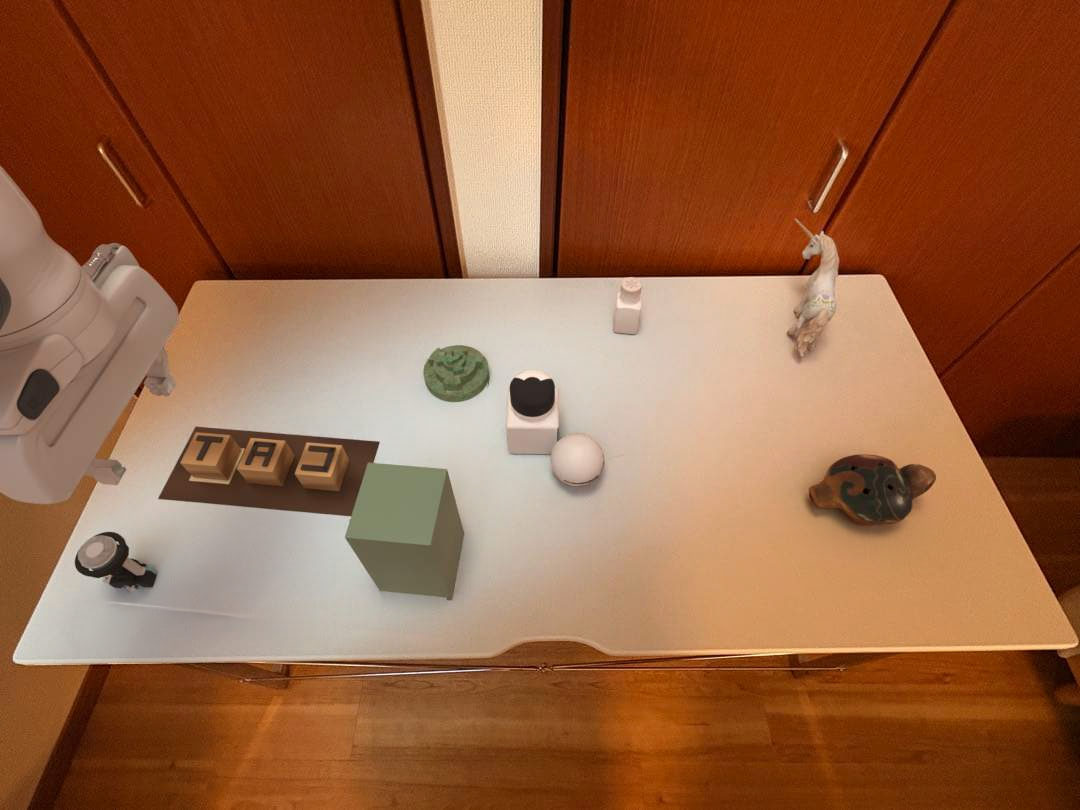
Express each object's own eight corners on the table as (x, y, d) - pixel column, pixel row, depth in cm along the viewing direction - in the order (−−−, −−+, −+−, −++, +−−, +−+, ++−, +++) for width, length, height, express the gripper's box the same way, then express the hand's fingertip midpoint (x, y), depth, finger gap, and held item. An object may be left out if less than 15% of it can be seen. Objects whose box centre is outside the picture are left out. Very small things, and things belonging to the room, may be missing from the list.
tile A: (283, 486, 85) (271, 470, 81) (248, 483, 85) (235, 467, 82) (295, 455, 88) (284, 439, 84) (261, 452, 88) (249, 436, 85)
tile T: (228, 480, 85) (214, 465, 82) (193, 477, 86) (178, 461, 82) (242, 450, 88) (229, 433, 85) (208, 447, 89) (194, 430, 85)
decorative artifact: (497, 395, 95) (480, 349, 100) (493, 366, 89) (476, 319, 95) (433, 412, 93) (420, 364, 99) (426, 384, 87) (412, 335, 93)
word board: (358, 520, 83) (356, 516, 82) (161, 502, 85) (157, 498, 84) (381, 445, 90) (379, 441, 89) (198, 430, 92) (195, 425, 91)
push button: (101, 602, 76) (49, 573, 68) (117, 561, 80) (69, 529, 72) (155, 601, 77) (109, 571, 68) (169, 560, 80) (126, 527, 72)
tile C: (339, 491, 84) (330, 475, 81) (304, 488, 85) (293, 472, 81) (349, 460, 87) (341, 443, 84) (315, 457, 87) (305, 441, 84)
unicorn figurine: (811, 281, 109) (840, 218, 98) (837, 366, 97) (873, 305, 87) (770, 280, 109) (794, 218, 98) (791, 364, 98) (822, 304, 87)
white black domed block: (558, 455, 88) (559, 406, 79) (508, 454, 88) (503, 406, 79) (557, 414, 93) (559, 363, 83) (510, 414, 93) (506, 363, 83)
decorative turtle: (929, 524, 81) (960, 500, 75) (819, 546, 81) (839, 523, 74) (894, 460, 87) (920, 432, 80) (790, 480, 86) (807, 453, 79)
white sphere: (548, 494, 85) (548, 467, 79) (552, 449, 89) (552, 420, 83) (620, 500, 84) (626, 473, 78) (621, 454, 88) (626, 425, 82)
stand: (451, 600, 76) (430, 545, 62) (381, 593, 77) (344, 537, 63) (464, 533, 81) (447, 468, 68) (398, 527, 82) (367, 462, 68)
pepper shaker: (614, 316, 104) (619, 274, 97) (637, 318, 104) (645, 276, 96) (612, 333, 102) (617, 291, 94) (636, 336, 102) (644, 294, 94)
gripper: (76, 228, 50) (161, 343, 61) (-104, 436, 38) (43, 532, 49) (150, 232, 50) (222, 347, 61) (-9, 444, 38) (118, 539, 49)
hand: (141, 431), depth 55 cm, fingers open, 8 cm apart
